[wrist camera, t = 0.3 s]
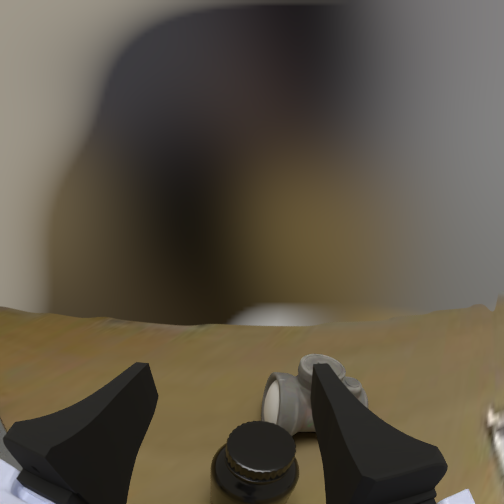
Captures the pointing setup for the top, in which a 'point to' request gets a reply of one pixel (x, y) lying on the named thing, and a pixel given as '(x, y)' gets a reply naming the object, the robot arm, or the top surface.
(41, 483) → the robot arm
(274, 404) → the pipe fitting
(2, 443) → the bolt plate
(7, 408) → the top surface
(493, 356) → the top surface
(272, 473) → the supplement bottle
